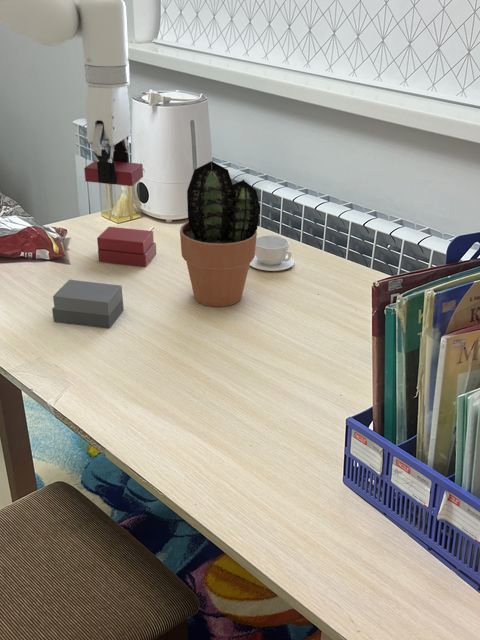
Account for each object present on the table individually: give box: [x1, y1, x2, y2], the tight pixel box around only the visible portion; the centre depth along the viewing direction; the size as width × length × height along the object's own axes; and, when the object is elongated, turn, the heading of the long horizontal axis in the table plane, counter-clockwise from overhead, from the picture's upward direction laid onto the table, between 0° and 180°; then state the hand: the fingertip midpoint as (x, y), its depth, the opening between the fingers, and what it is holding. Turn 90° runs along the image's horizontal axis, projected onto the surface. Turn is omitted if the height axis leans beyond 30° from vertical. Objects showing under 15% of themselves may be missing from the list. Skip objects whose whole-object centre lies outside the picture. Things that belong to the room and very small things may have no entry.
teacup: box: [249, 234, 295, 272], centre depth 142 cm, size 10×10×5 cm
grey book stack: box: [51, 279, 124, 329], centre depth 119 cm, size 10×7×5 cm
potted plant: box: [179, 160, 261, 307], centre depth 123 cm, size 14×14×25 cm
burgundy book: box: [83, 159, 144, 187], centre depth 128 cm, size 9×6×2 cm, turn 80°
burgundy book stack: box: [96, 226, 157, 268], centre depth 142 cm, size 10×7×5 cm
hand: (114, 177), depth 129 cm, fingers closed on burgundy book, 6 cm apart
